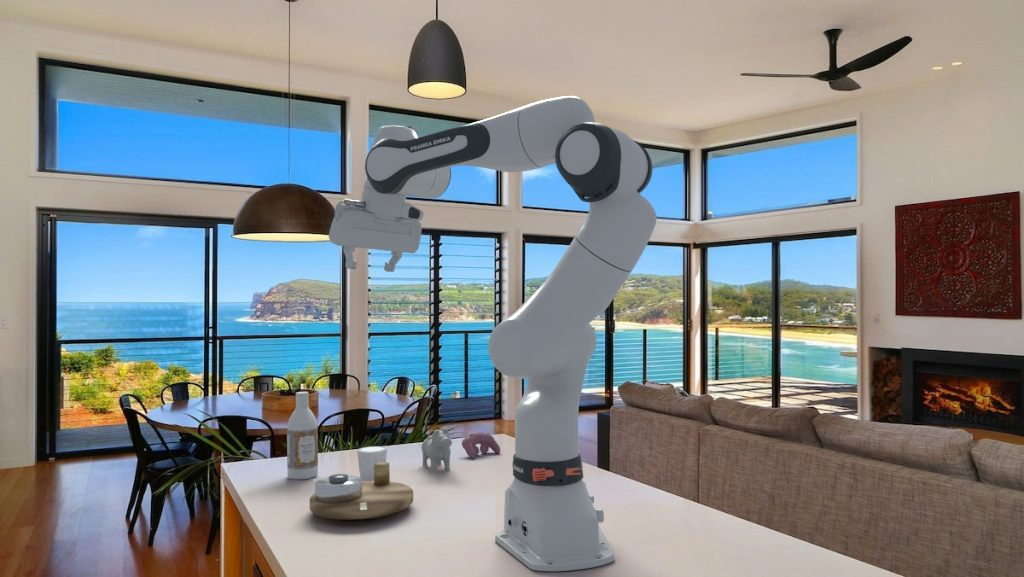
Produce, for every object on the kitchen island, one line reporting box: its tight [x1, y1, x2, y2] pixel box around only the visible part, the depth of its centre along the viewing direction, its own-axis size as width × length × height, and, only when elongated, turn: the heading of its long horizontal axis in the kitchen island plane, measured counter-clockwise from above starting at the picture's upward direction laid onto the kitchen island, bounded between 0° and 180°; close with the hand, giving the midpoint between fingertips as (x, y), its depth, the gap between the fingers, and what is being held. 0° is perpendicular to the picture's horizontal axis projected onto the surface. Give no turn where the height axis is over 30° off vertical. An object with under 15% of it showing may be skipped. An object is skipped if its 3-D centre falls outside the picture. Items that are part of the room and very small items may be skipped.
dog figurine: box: [421, 427, 453, 474], centre depth 163 cm, size 5×13×11 cm, turn 27°
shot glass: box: [356, 445, 388, 481], centre depth 156 cm, size 7×7×7 cm
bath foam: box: [286, 391, 319, 481], centre depth 159 cm, size 7×7×20 cm
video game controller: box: [461, 431, 501, 460], centre depth 179 cm, size 10×5×7 cm, turn 130°
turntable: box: [309, 461, 414, 520], centre depth 132 cm, size 20×20×6 cm
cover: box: [314, 473, 362, 504], centre depth 131 cm, size 9×9×4 cm
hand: (370, 269), depth 139 cm, fingers open, 8 cm apart
